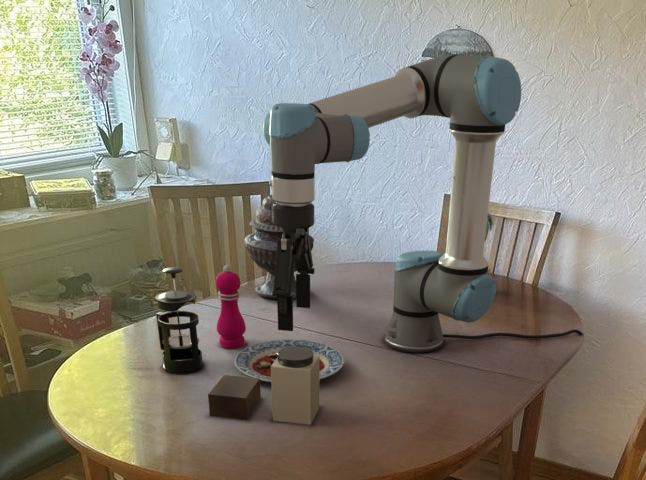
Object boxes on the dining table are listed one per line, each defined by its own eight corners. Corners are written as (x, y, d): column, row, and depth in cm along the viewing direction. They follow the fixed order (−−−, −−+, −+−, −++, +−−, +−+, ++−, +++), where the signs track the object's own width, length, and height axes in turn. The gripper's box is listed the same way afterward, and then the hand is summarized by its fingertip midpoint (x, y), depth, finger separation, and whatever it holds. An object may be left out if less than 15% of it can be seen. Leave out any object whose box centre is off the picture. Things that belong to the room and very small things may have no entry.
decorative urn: (277, 276, 227) (275, 160, 206) (326, 293, 218) (330, 174, 197) (232, 293, 214) (226, 172, 193) (283, 313, 205) (282, 187, 184)
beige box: (301, 422, 153) (350, 382, 146) (292, 439, 146) (342, 399, 139) (252, 372, 148) (300, 329, 141) (240, 388, 142) (289, 343, 135)
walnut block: (261, 399, 153) (260, 378, 150) (246, 420, 144) (245, 398, 142) (225, 395, 154) (224, 374, 151) (209, 416, 145) (207, 394, 143)
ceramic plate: (301, 401, 152) (301, 388, 151) (212, 372, 164) (211, 360, 162) (364, 363, 171) (364, 351, 170) (279, 340, 182) (279, 329, 181)
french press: (214, 365, 167) (205, 268, 155) (185, 378, 160) (174, 278, 148) (179, 354, 173) (168, 259, 160) (149, 366, 166) (136, 268, 154)
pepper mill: (241, 351, 175) (235, 270, 165) (213, 348, 177) (206, 268, 166) (250, 340, 181) (246, 262, 171) (224, 337, 183) (218, 260, 172)
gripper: (290, 188, 136) (292, 297, 147) (251, 214, 115) (257, 338, 126) (328, 191, 135) (327, 300, 146) (296, 218, 114) (297, 342, 125)
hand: (294, 318), depth 136 cm, fingers open, 13 cm apart
